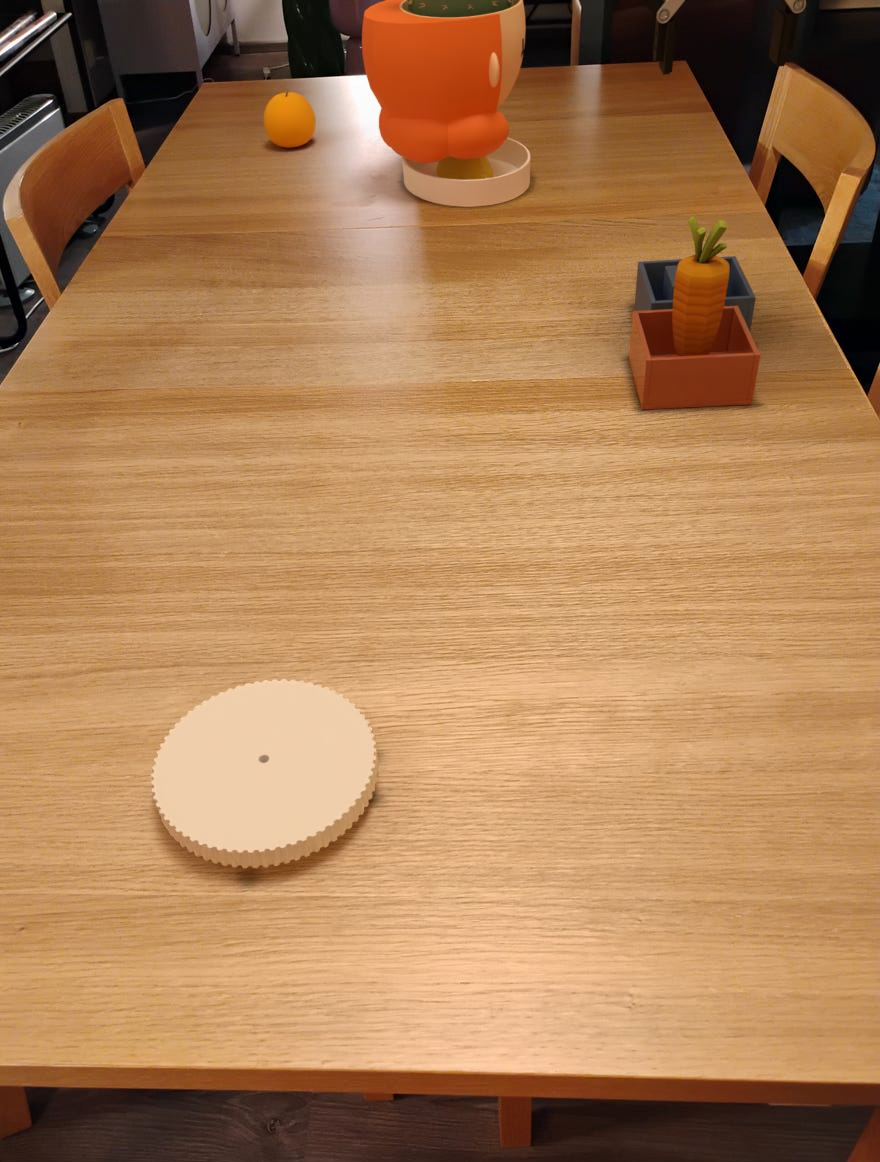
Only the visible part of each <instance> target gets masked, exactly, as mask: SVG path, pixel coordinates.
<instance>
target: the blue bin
mask: <svg viewBox="0 0 880 1162" xmlns="http://www.w3.org/2000/svg"><path fill="white" fill-rule="evenodd" d="M719 257H720V258H722V259H724V260H726V261H727V262H728V263H729V266H730V272H729V280H728V286H727V292H726V298H725V303H724V306H738V307H739V309H740V311H741V313H742V316H743V318H744V320H745V322H746V324H747V327H748V329H749V331H750V332H751V330H752V325H753V318H754V311H755V305H756V299H757V297H756V295H755V293H754V291H753V289H752V287H751V285H750V282H749V281H748V279H747V277H746V275H745V273H744V271H743V269H742V267H741V264H740V262H739V261H738V258H737V256H736V255H732V256H719ZM682 259H683V258H680V259H679V258H678V259H677V258H676V259H661V260H659V259H658V260H641V261H640V260H639V261H637V272H636V282H635V293H634V294H635V296H634V305H633V306H634V311H645V310H664V309H673V300H662V292H663V282H664V272H665V266H676V265H678V264H679V261H681V260H682Z"/></svg>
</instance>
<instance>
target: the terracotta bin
mask: <svg viewBox="0 0 880 1162" xmlns="http://www.w3.org/2000/svg"><path fill="white" fill-rule="evenodd" d="M672 312H673V309H664V310H645V311H636V310H633V311H632V313H631V324H630V335H629V336H630V337H629V351H628V361H629V365H630V369H631V372H632V373H631V374H632V376H633V380H634V384H635V388H636V392H637V395H638V400H639V404H640V408H641V410H659V409H660V410H661V409H682V408H702V407H703V408H704V407H705V408H706V407H723V406H724V407H725V406H747V405H753V400H754V393H755V388H756V382H757V376H758V370H759V365H760V360H761V353H760V351H759V349H758V346H757V344H756V343H755V340H754V338H753V335H752V333H751V330H750V331H749V329H748V327H747V324H746V322H745V320H744V318H743V316H742V313H741V311H740V309H739V307H738V306H724V308H723V313H722V318H721V322H720V325H719V328H718V331H717V334H716V337H715V340H714V343H713V345H712V348H711V351H710V352H709V354H708V355H695V356H677V354H676V350H675V346H674V336H673V323H672Z"/></svg>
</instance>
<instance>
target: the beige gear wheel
mask: <svg viewBox="0 0 880 1162" xmlns="http://www.w3.org/2000/svg"><path fill="white" fill-rule="evenodd" d="M209 698H210V699H208V700H207V699H204V700H203V701H201V704H197V705H195V706H194V708H193V710H189V711H187V713H186V715H183V716H181V717H180V721H179V722H175V724H174V727H173V728H170V729H169V731H168V735H165V736H164V738H163V742H161V743H160V744H159V748H160V749H159V750H156V753H155V754H156V756H157V757H154V759H153V764H154V765H152V766H151V770H152V773H151V774H150V778H151V781H150V785H151V787H152V788H151V793H152V797H153V801H154V804H155V806H156V809H157V811H158V813H159V817H160V819H161V822H162V823H163V825H164V828H165V829H166V830H167V831H168V834H169V835H170V836H171V837H172V836H173V839H174V841H175V842H176V843H177V842H178V843H179V844H180V846H181V847H182V848H185V847H186V850H187V852H188V853H194V855H195V856H196V857H197V858H200V857H202V858H203V860H204V861H209V860H211V861H212V862H211V863H213V864H216V865H217V864H218V863H220V864H221V866H224V867H227V866H228V865H230V866H231V867H232V868H238V866H241V868H242V869H248V867H252V869H258V868H259V867H261V866H262V867H263V868H269V866H270V865H273V866H274V867H277V866H280V864H282V863H284V864H285V865H286V864H290V863H291V861H293V860H294V861H295V862H297V861H300V860H301V857H305V858H307V857H310V856H311V853H313V852H314V853H318V852H320V851H321V850H320V849H321V848H322V847H323V848H327V847H328V846H330V843H331V842H336V841H338V837H339V836H343V835H345V834H346V830H347V829H348V830H350V829H351V828H352V827H353V823H357V822H358V821H359V819H360V818H359V816H360V815H363V814H364V813H365V808H367V807H368V806H369V803H370V802H369V800H372V799H373V792H375V791H376V784H377V783H378V776H379V758H378V757H379V756H378V749H377V743H376V738H375V734H374V733H373V728H372V726H370V725H371V724H370V721H369V719H367V718H366V714H364V713H362V709H360V708H359V707H358V708H357V704H355V703H354V702H351V700H350V699H349V698H348V697H346V698H345V697H344V694H342V693H339V694H338V692H337V691H336V690H335V689H332V690H330V688H329V687H328V686H324V687H323V686H322V684H321V683H320V684H319V683H317V684H314V682H312V681H309V682H305V680H302V679H301V680H299V681H296V679H294V678H293V679H290V680H287V678H282V679H281V680H278V678H274V679H272V680H268V679H263V681H259V680H256V681H254V682H253V683H250V682H247V683H245V685H240V684H239V685H236V686H235V688H232V687H229V688H228V689H226V691H224V692H223V691H220V692H218V694H217V695H212V696H210V697H209Z"/></svg>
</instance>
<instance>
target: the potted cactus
mask: <svg viewBox="0 0 880 1162" xmlns="http://www.w3.org/2000/svg"><path fill="white" fill-rule="evenodd" d="M526 26H527V25H526V11H525V6H524V0H382V1H379V2H377V3H375V4H373V5H370V6H369V7H368V8H367V9H365V10H364V13H363V18H362V27H361V28H362V30H361V49H362V50H361V51H362V52H361V53H362V60H363V66H364V72H365V75H366V78H367V82H368V85H369V89H370V90H371V92H372V94H373V96H374V97H375V99H376V101H377V103H378V104H379V107H380V112H379V116H378V128H379V129H378V131H379V134H380V136H381V139H382V141H383V143H385V144H386V146H388V147H389V148H391V149H392V151H393V152H394V153H396V154H397V155H399V156H400V157H401V161H402V173H403V174H402V175H403V184H404V186H405V188H406V190H407V191H408V192H410V193H411V194H413V195H414V196H415V197H417V198H420V199H421V200H424V201H427V202H430V203H434V204H438V205H444V206H448V207H449V206H451V207H463V208H471V207H473V208H474V207H475V208H476V207H485V206H486V207H487V206H493V205H497V204H502V203H506V202H509V201H511V200H514V199H516V198H518V197H520V196H521V195H522V194H524V193H525V192H526V191H527V190H528V189H529V187H530V185H531V152H530V150H529V149H528V148H527V147H526V146H525V145H524V144H523V143H521V142H520V141H517V140H516V139H513V138H511V137H508V136H509V134H510V126H509V122H508V120H507V118H506V117H505V115H503V113H501V112H500V111H498V109H499V108H500V107H501V105H502V104H503V103H504V102H505V101H506V99H507V98H508V96H509V94H510V93H511V92H512V91H513V88H514V86H515V84H516V81H517V79H518V76H519V74H520V70H521V67H522V63H523V59H524V57H525V44H526V28H527V27H526Z"/></svg>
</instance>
